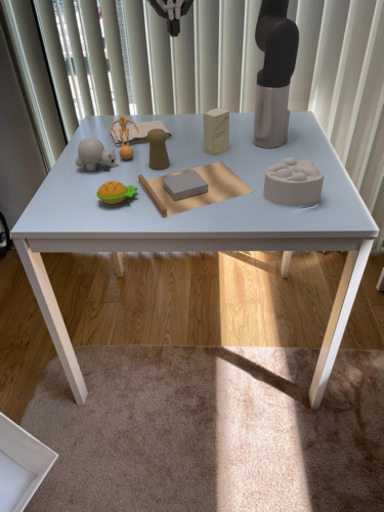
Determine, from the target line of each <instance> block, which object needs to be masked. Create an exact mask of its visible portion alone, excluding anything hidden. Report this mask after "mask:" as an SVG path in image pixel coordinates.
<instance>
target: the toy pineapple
mask: <svg viewBox="0 0 384 512" xmlns="http://www.w3.org/2000/svg"><path fill="white" fill-rule="evenodd" d="M138 189H139V188H138V187H137V186H134V185H133V184H130V185H127V186H126V185H125V184H124V183H122V182H120V181H116V180H109V181H107V182H105V183H104V182H103V184H101V185H100V186H99V187H98V189H97V192H96V197H97V198H98V199H99V200H100V201H101V202H103V203H105V204H107V205H108V204H110V205H117V204H118V203H121V202H123V201H125V199H126V198H133V196H135V195H138Z"/></svg>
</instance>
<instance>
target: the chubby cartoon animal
mask: <svg viewBox="0 0 384 512" xmlns="http://www.w3.org/2000/svg"><path fill="white" fill-rule="evenodd" d="M115 150H116V148H112V149H111V150H109V149H107V150H106V148H105V146H104V144H103V143H102V141H100V139H98V138H95V137H85V138H84V139H82V140H80V141H79V145H78V147H77V154H78V155H77V157H76V159H75V165H76V166H77V167H79V168H83V167H85V169H86V171H88V172H94V171H96V168H97V166H99V165H100V163H102V164H103V165H104V166H109V168H110V169H112V168H117V167H119V165H120V164H121V159H118V160H117V158H116V154H115Z"/></svg>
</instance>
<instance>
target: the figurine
mask: <svg viewBox="0 0 384 512" xmlns="http://www.w3.org/2000/svg"><path fill="white" fill-rule="evenodd" d="M117 123H119V126H121V128H122V129H119V131H120V138H121V140H122V147H119V148H120V149H119V151H118V152H119V153H118V154H119V156H120V158H121V159H123V160H130V159H132V158H133V157H134V149H133V148H132V147H131V146H129V138H128V137H129V129H128V128H127V129H126V126H127V125H128V123H131V124H134V126H135V128H136V129H137V133H139V130H138V128H137V126H136V124H137V123H136V122H135V120H132V119H129V117H126V116H125V115H121V116H120V117H119V118H117V119H116V120H114V121H113V122H112V123H111V126H110V128H109V135H112V133H111V130H112V128H113V127H114V124H117ZM123 132H125V135H126V137H127V145H124V140H123V138H122V136H123Z"/></svg>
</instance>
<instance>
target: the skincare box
mask: <svg viewBox="0 0 384 512" xmlns="http://www.w3.org/2000/svg"><path fill="white" fill-rule="evenodd" d="M202 116H203V117H202V118H203V121H202V123H203V149H204V150H203V152H205V153H207V154H209V155H212V156H217V155H219V154H221V153H223V152H226V151H227V150H229V149H230V148H229V147H230V146H229V143H230V110H228V109H224V108H222V107H216V108H213V109H210V110H208V111H205V112H203V113H202Z"/></svg>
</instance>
